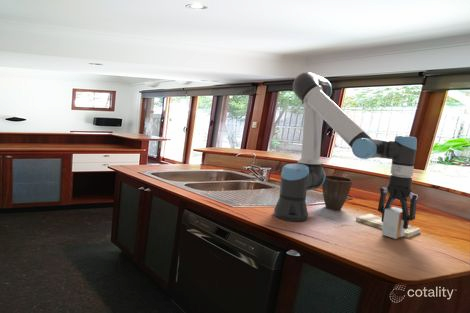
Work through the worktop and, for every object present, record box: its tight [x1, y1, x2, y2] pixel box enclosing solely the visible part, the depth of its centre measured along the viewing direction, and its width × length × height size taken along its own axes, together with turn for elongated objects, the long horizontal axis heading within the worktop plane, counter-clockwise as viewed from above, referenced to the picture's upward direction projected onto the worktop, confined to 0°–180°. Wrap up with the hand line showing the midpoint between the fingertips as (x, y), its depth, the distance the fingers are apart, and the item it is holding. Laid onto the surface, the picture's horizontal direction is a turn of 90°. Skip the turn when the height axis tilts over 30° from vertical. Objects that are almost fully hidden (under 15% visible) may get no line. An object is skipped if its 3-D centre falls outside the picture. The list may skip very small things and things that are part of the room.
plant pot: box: [321, 174, 354, 211], centre depth 148 cm, size 15×15×16 cm
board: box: [355, 213, 421, 239], centre depth 126 cm, size 22×12×2 cm, turn 38°
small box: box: [381, 206, 404, 240], centre depth 114 cm, size 8×6×10 cm
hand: (393, 233), depth 114 cm, fingers closed on small box, 6 cm apart
